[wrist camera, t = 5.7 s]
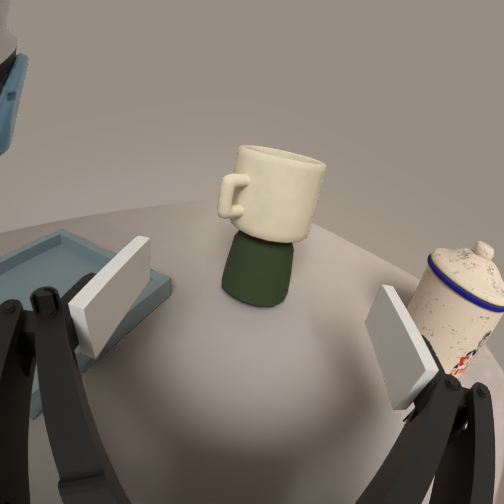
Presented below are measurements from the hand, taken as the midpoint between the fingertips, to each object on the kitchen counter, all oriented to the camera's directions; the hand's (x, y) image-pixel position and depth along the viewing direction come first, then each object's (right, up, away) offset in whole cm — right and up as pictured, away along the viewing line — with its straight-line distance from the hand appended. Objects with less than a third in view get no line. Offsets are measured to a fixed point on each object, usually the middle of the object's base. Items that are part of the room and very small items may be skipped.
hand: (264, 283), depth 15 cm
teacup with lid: (+17, -8, +8) cm, 20 cm away
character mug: (-1, -2, +12) cm, 12 cm away
